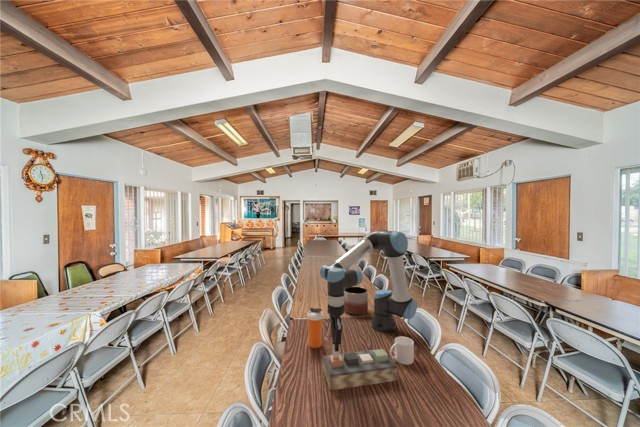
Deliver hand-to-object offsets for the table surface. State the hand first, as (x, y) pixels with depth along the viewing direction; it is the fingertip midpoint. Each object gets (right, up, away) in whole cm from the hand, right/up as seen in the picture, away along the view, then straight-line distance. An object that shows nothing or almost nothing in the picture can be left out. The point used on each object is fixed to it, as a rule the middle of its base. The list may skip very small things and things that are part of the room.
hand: (335, 356), depth 111 cm
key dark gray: (+7, -5, +1) cm, 8 cm away
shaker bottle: (-10, -10, +28) cm, 31 cm away
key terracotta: (0, -5, 0) cm, 5 cm away
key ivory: (+14, -6, +3) cm, 15 cm away
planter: (+20, -9, +75) cm, 78 cm away
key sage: (+21, -4, +4) cm, 22 cm away
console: (+10, -10, +2) cm, 14 cm away
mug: (+34, -10, +14) cm, 38 cm away
